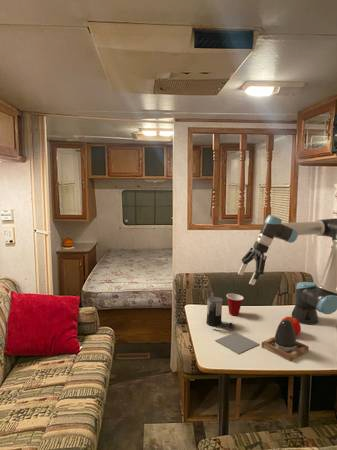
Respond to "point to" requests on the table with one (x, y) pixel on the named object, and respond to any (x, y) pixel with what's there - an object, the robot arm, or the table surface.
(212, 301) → the milk frother
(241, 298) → the plastic cup
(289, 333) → the pump dispenser
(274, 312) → the table surface
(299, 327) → the tomato
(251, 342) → the rubber mat
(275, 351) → the walnut collar
